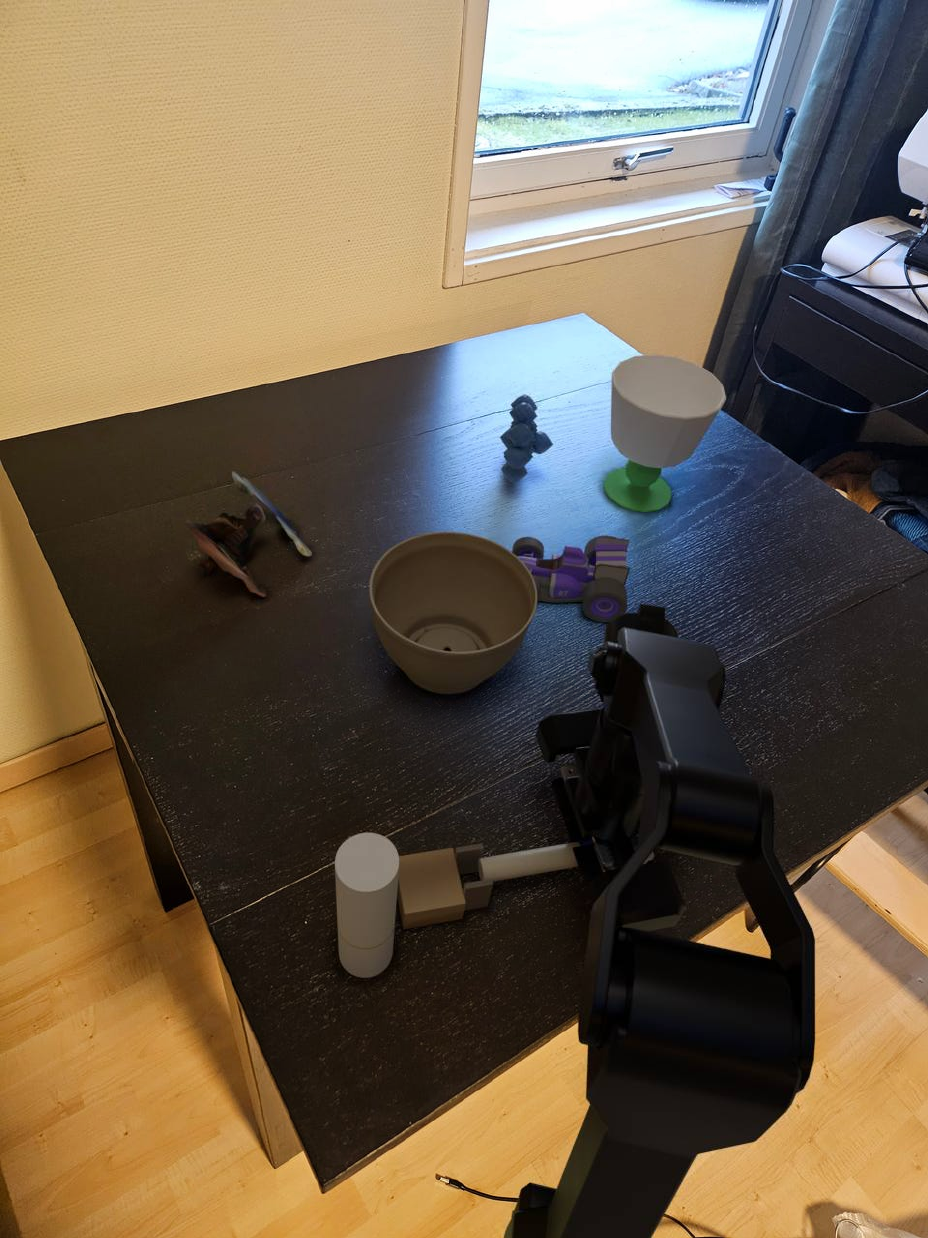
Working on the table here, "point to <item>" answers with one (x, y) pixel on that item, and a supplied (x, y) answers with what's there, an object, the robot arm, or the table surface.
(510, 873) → the marker
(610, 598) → the toy race car
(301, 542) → the figurine
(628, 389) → the cup
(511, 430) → the grapes
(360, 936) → the tube
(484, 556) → the planter bowl
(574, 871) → the table surface
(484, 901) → the tan block with prongs
